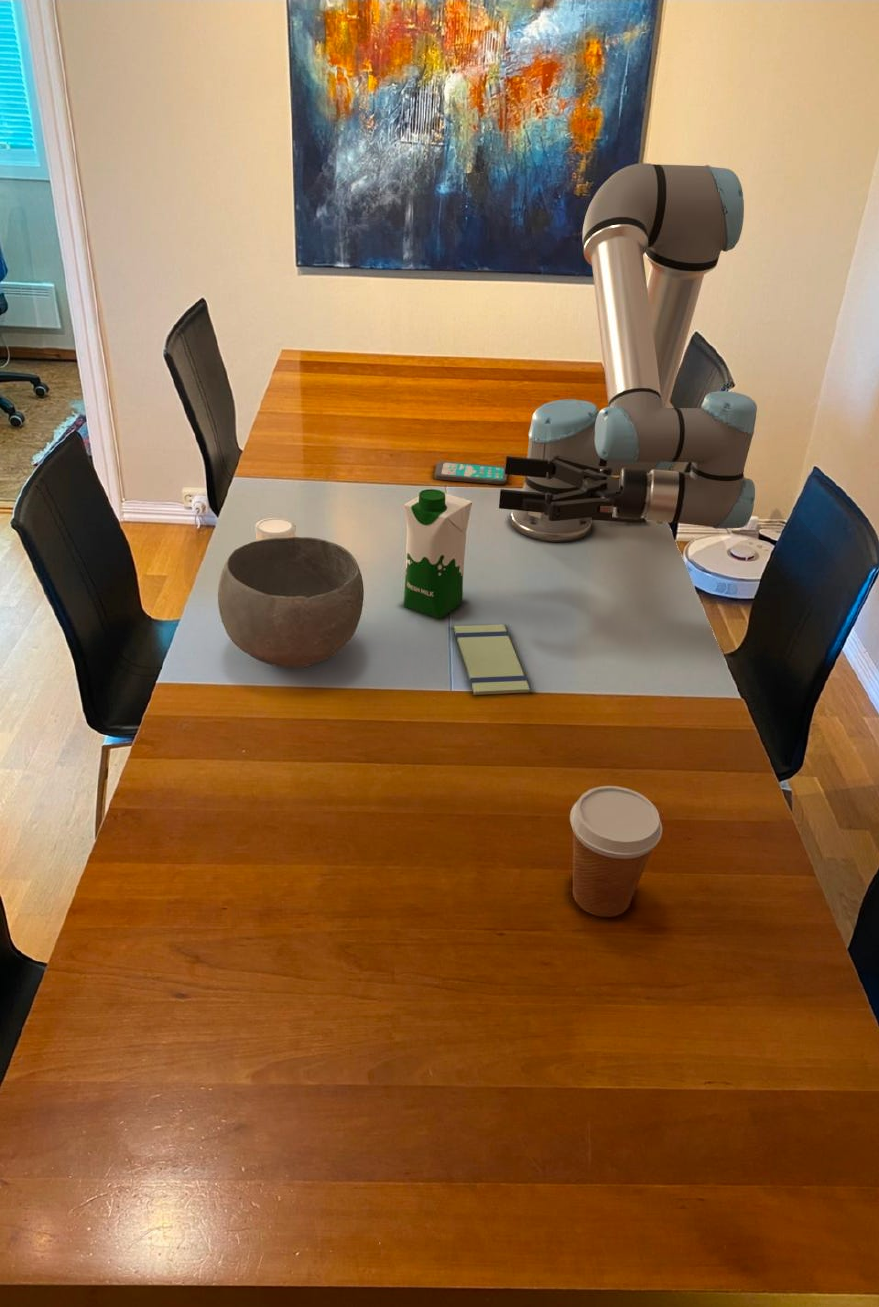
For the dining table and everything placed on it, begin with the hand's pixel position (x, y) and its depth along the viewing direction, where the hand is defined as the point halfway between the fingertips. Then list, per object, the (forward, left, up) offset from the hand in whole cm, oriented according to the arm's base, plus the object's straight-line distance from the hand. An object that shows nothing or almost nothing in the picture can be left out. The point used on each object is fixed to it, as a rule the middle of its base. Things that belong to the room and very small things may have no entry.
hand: (502, 481), depth 148 cm
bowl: (+32, +11, -22) cm, 41 cm away
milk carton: (+9, -2, -22) cm, 24 cm away
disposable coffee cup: (0, +63, -22) cm, 67 cm away
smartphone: (-7, -56, -22) cm, 61 cm away
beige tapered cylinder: (+34, -18, -22) cm, 45 cm away
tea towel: (+3, +15, -22) cm, 27 cm away
